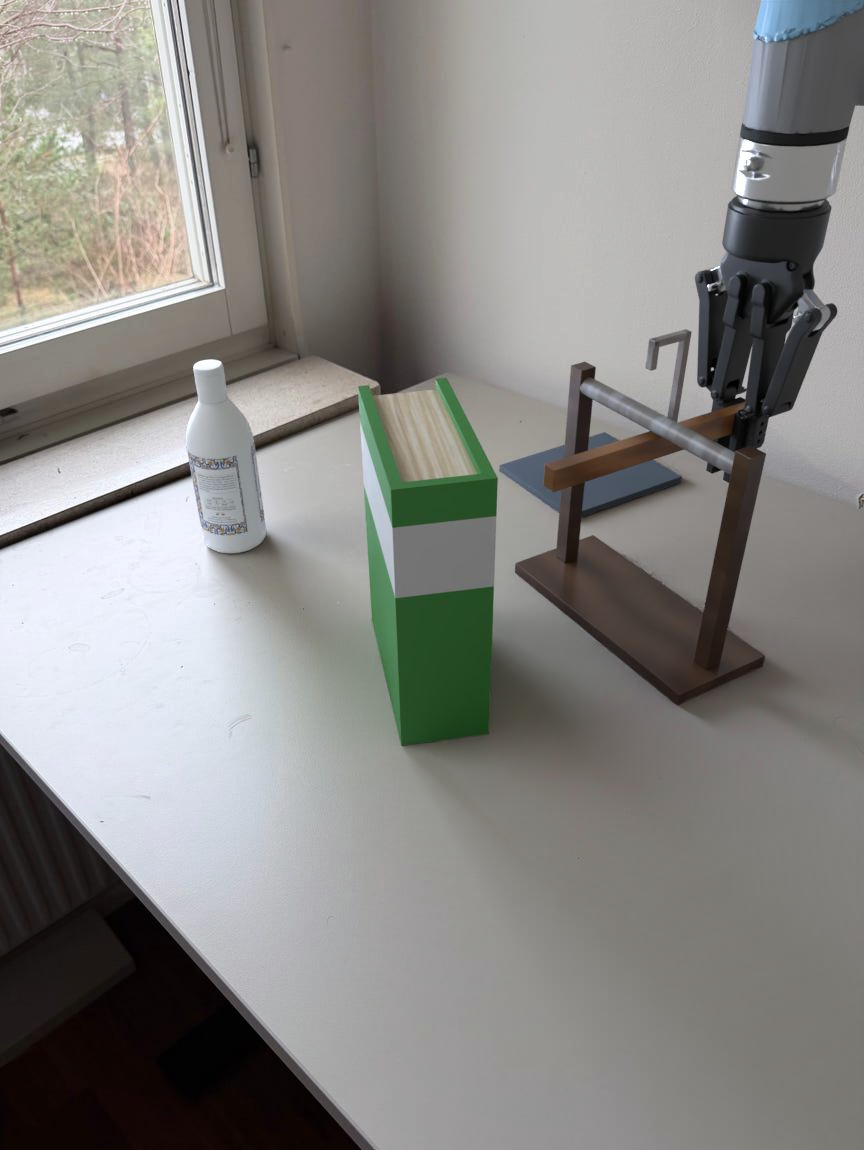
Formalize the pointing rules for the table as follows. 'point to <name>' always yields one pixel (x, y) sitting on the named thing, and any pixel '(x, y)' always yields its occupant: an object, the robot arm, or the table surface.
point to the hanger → (643, 444)
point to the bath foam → (223, 466)
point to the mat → (597, 490)
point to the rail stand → (629, 594)
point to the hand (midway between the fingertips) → (728, 472)
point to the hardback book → (430, 559)
